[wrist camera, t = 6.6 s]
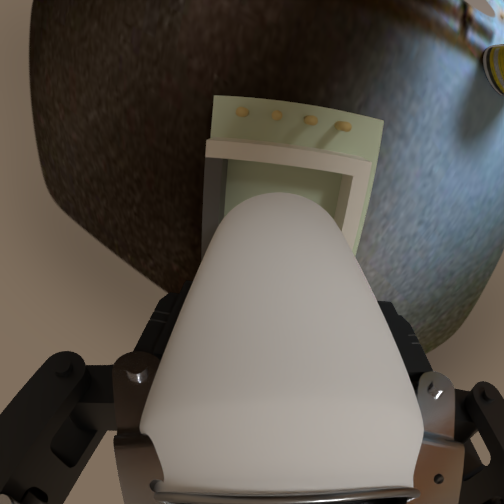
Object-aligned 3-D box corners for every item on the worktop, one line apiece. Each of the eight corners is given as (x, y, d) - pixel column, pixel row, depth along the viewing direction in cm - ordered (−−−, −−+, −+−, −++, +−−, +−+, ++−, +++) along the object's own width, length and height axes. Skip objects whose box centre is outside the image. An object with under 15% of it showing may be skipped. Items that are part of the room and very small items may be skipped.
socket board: (217, 96, 17) (205, 92, 14) (377, 120, 17) (398, 122, 14) (207, 266, 23) (197, 292, 20) (342, 282, 23) (351, 308, 20)
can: (214, 301, 16) (158, 523, 5) (211, 185, 13) (47, 441, 2) (330, 308, 16) (370, 528, 5) (351, 195, 13) (514, 439, 2)
